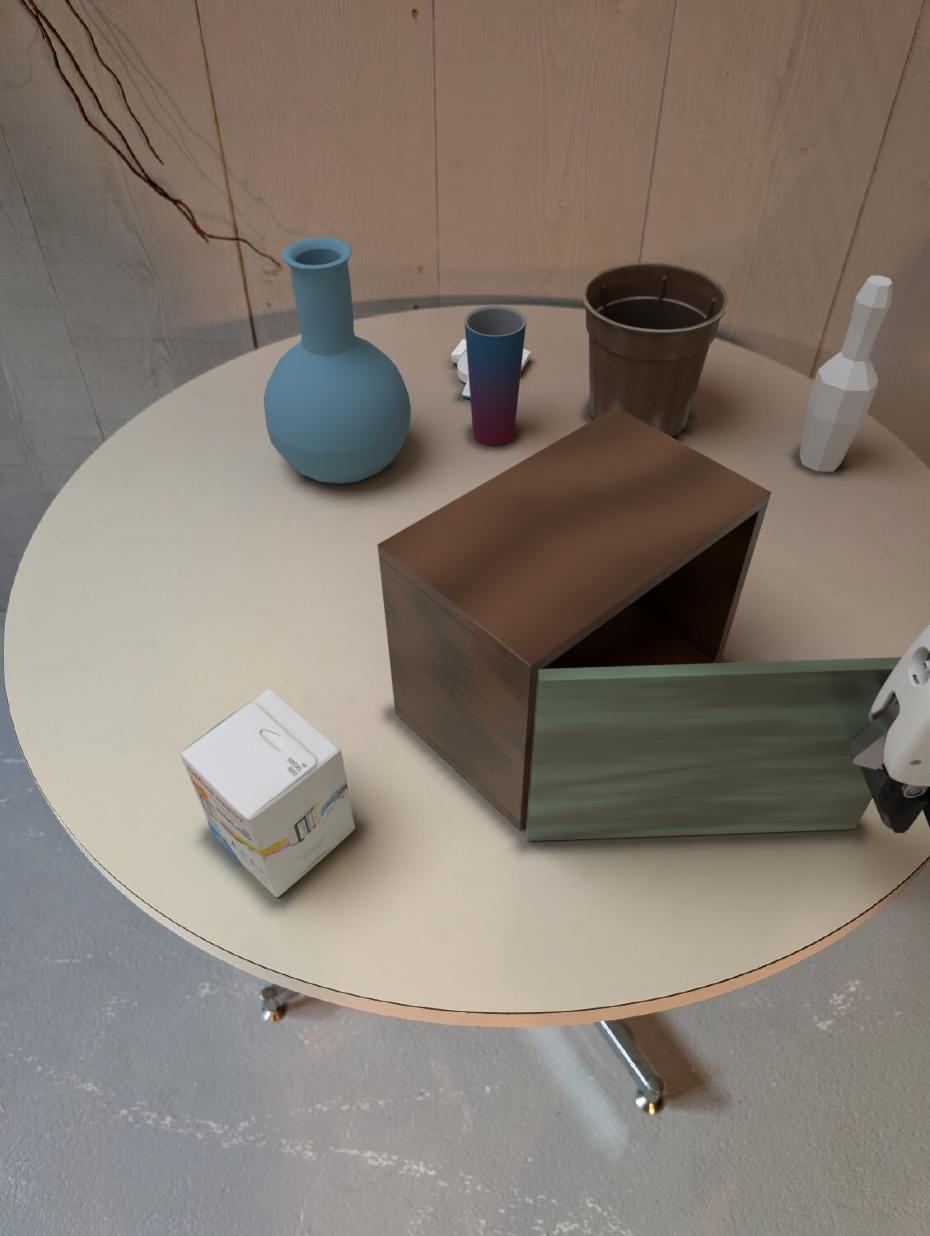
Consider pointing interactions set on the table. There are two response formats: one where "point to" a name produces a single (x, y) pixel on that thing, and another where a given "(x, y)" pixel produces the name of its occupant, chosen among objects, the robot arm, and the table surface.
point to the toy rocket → (462, 364)
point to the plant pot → (650, 339)
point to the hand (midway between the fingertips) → (911, 811)
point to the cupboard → (560, 587)
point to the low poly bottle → (845, 383)
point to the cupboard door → (702, 748)
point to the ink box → (271, 790)
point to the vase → (333, 378)
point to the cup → (494, 371)
